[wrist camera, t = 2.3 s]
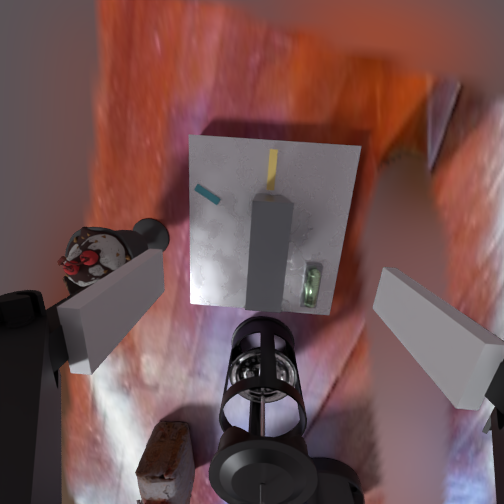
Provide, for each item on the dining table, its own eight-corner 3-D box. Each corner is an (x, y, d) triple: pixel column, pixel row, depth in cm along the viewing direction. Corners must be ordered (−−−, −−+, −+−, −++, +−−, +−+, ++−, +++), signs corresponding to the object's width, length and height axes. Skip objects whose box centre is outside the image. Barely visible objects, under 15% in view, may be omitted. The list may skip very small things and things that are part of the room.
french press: (235, 307, 34) (184, 545, 12) (300, 316, 34) (369, 571, 12) (228, 372, 37) (177, 649, 15) (286, 380, 37) (320, 669, 15)
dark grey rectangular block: (275, 272, 28) (281, 312, 19) (250, 270, 28) (245, 309, 20) (288, 150, 24) (302, 134, 16) (259, 149, 24) (257, 131, 16)
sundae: (167, 207, 30) (79, 231, 16) (180, 256, 32) (113, 318, 17) (119, 216, 31) (-8, 247, 16) (135, 263, 32) (34, 329, 18)
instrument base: (323, 303, 33) (333, 323, 28) (196, 293, 33) (186, 310, 29) (351, 149, 27) (369, 143, 22) (196, 139, 27) (183, 130, 23)
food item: (201, 473, 45) (184, 551, 35) (160, 471, 45) (133, 548, 36) (193, 420, 41) (173, 492, 31) (149, 419, 41) (115, 490, 32)
